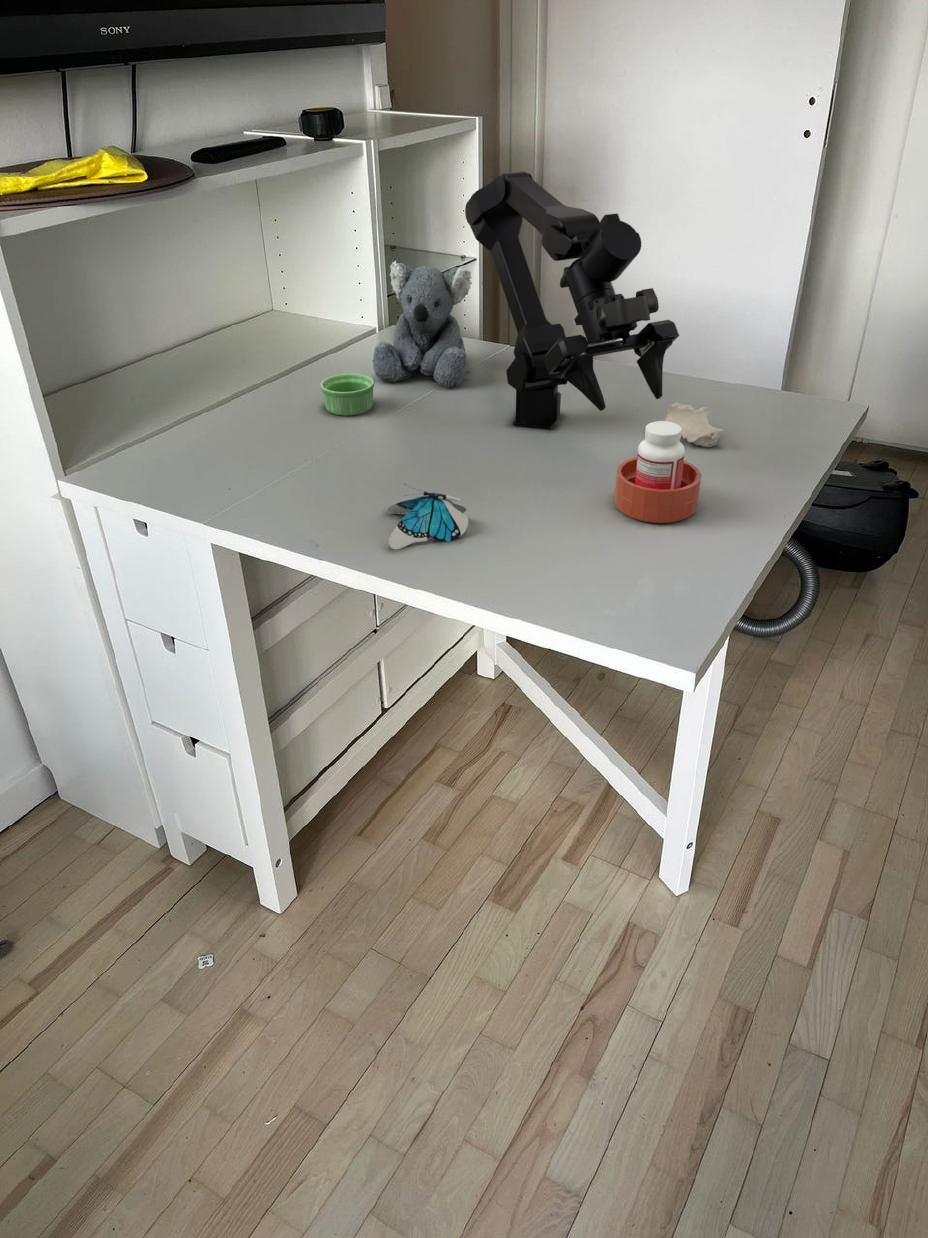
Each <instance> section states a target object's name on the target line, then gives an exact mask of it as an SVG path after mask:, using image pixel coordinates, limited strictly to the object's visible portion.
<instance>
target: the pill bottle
mask: <svg viewBox="0 0 928 1238" xmlns="http://www.w3.org/2000/svg"><path fill="white" fill-rule="evenodd" d="M644 432H645V433H644V434H645V435H644V438H645V439H643V440H642V441H640V443H639V444H638V448H637V454H636V457H637V465H636V475H635V484H636V485H638V486H642V487H646V488H651V489H659V490H664V489H677V488H680V487H681V479H682V470H683V462H684V461H685V453H686V452H685V447H684V444H683V443H682V442H680V441H681V439H682V436H681V432H682V429H681V427H680V426H679V425H678V424H676V423H673V422H668V421H664V420H657V421H653V422H650V423H648V424H647V425H646V426H645V431H644Z"/></svg>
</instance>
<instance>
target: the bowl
mask: <svg viewBox="0 0 928 1238" xmlns="http://www.w3.org/2000/svg"><path fill="white" fill-rule="evenodd" d="M636 465H637V456H635V457H631V458H629V459H626V460H624V461H622V462H621V463H620V464H618V466H617V469H616V473H615V485H614V486H615V487H614V495H613V497H614V498H613V502H614V505H615V507H616V509H618V511H620V512H621V513H622V514H624V515H626V516H627V517H629V518H631V519H634V520H637V521H640V522H644V523H650V524H670V523H675V522H679V521H683V520H685V519H688V518H690V517H691V516H692V515H694V513H696V511H697V508H698V505H699V497H700V491H701V484H702V473H701V470H700V469H699V468H697V467H696V466H695V464H693V463H691V462H688V461H686V460H684V462H683V470H682V479H681V487H680V488H677V489H664V490H659V489H651V488H646V487H642V486H638V485H636V484H635V475H636Z"/></svg>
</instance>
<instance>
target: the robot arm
mask: <svg viewBox="0 0 928 1238" xmlns="http://www.w3.org/2000/svg"><path fill="white" fill-rule="evenodd" d="M464 215H465V220H466V222H467V224H468V225H469V227H470V229H471V232H472V234H473V236H474V238H475V240H476V241H477V242H478V243H479V244H481V245H482V246H483V247H484V248H485V249H487V251H488V252H490V254H491V257H492V260H493V263H494V267H495V270H496V272H497V275H498V278H499V281H500V283H501V287H502V290H503V294H504V296H505V298H506V302H507V304H508V308H509V311H510V313H511V317H512V320H513V323H514V326H515V329H516V332H517V337H516V341H515V344H514V348H513V355H514V359H513V360H512V362H511V363H510V364H509V366H508V368H507V369H506V371H505V373H506V374H505V375H506V380H507V384H508V386H510V387H512V388H513V389H514V390H515V417H514V419H513V420H512V425H513V426H517V427H518V426H519V427H527V428H537V429H547V430H551V429H552V428H553V427H554V425H555V423H556V422H558V420H559V419H560V417H561V402H562V401H561V400H562V393H561V392H560V391H559V386H563V385H567V384H568V383H569V384H570V385H572V386H573V387H575V389H577V390H578V391H579V392H580V393H581V394H582V395H584V397H586V398H587V400H588V401H590V402H591V404H593V405H594V407H596V409H597V410H599V411H600V412H602V411H604V410H606V402H605V399H604V398H605V397H604V395H603V392H602V389H601V387H600V386H601V385H600V384H599V381H598V378H597V376H596V373H595V370H594V357H598V356H603V355H608V354H614V353H620V352H625V351H631V350H633V352H634V354H635V355H636V356H638V357H639V358H638V359H637V360H636V363H637V366H638V368H639V369H640V372H641V373H642V376H643V378H644V379H645V381H646V384H647V386H648V388H649V390H650V392H651V393H652V395H653V397H654V398H655V400H659V399H661V398H662V397H663V374H664V373H663V372H664V371H663V368H664V367H663V366H664V358H665V355H666V351H667V350H668V349H669V348H670V347H671V346H672V345H673V343H674V341H676V340H677V339H678V338H679V337H680V334H679V330H678V327H677V325H676V323H675V322H674V321H672V320H670V319H664V320H658V321H651V314H655V313H657V312H658V311H659V309H660V305H659V300H658V296H657V294H656V291H655V290H654V288H653V287H651V288H644V289H641V290H638V291H636V292H635V296H633V297H628V298H627V297H626V298H625V296H624V295H623V294H622V293H616V291H615V288H614V285H613V283H612V282H614V281H616V280H618V279H619V278H620V276H622V274H623V273H624V272H625V271H626V270H627V268H628V267H629V266H630V265H631V263H633V261H634V260H635V259H636V258H637V256H638V255H639V254H640V252H641V249H642V239H641V235H640V233H639V232H637V230H636V229H635V228H634V227H633V226H632V225H631V224H629V223H627V222H625V221H623V220H621V219H620V216H619V213H609V214H604V215H603V216H602V218H601V219H600V220H599V218H598V216H597V215H596V214H594V213H593V212H590V211H588V210H586V209H584V208H580V207H579V208H578V207H573V206H567V205H566V204H563V203H562V202H561V201H560V200H559V199H557V198H556V196H554V195H552V194H551V193H550V192H549V191H548V190H546V189H545V188H544V187H543V186H541V185H540V184H539V183H538V182H536V181H535V180H534V179H533V176H532V175H531V173H529V172H526V171H524V170H522V171H521V170H520V171H511V172H501V174H499V175H497V176H496V177H495V178H494V180H493V181H492V182H490V183H488V184H486V185H485V186H483V187H480V189H477V190H476V191H474V193H472V195H471V196H470V197H469V199H468V200H467V202H466V203H465V207H464ZM524 220H526V222H528V223H529V225H531V226H532V227H533V228H534V229H536V230H537V231H538V232H539V233H540V235H541V240H540V241H541V242H540V244H541V246H542V248H543V249H544V250H545V252H546V253H547V255H548V256H549V257H550V258H551V259H552V260H553V261H555V262H559V261H567V260H573V262H572V263H571V264H570V265H569V266H565V267H564V268H563V273H562V276H561V278H560V281H559V287H560V288H561V289H565V288H568V290H569V293H570V296H571V298H572V301H573V305H574V307H575V310H576V313H577V315H576V316H575V317H574V323H575V326H581V328H582V330H583V333H584V335H582V334H575V335H570V336H566V333H565V328H564V327H563V325H562V324H561V323H553V324H552V322H550V321H548V319H547V316H546V314H545V311H544V307H543V305H542V302H541V299H540V296H539V293H538V291H537V287H536V284H535V281H534V278H533V276H532V273H531V269H530V267H529V264H528V261H527V259H526V255H525V252H524V249H523V246H522V243H521V240H520V234H521V230H522V226H523V222H524ZM574 259H575V260H574ZM641 321H643V322H645V321H646V322H648V321H651V322H648V323H647V324H645V326H644V327H643V328H642V329H641V330H640V331H639V332H638V333H635V334H630V332H631V331H634V330H636V328H638V327H639V325H638V322H641Z"/></svg>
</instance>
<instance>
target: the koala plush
mask: <svg viewBox="0 0 928 1238" xmlns="http://www.w3.org/2000/svg"><path fill="white" fill-rule="evenodd" d="M389 277H390V280H391V281H390V285H391V287H392V288H391V293H395V295H396V299H397V300H398V301H399V303H400V304H401V307H402V310H403V313H402V314H400V316H399V318H398V320H397V323H396V324H395V328H394V332H393V338H392V339H393V341H392V344H391V343H390V342H388V341H380V342H378V343H376V345H375V346H374V349H373V355H372V356H373V357H372V358H373V359H372V365H373V366H372V367H373V372H374V374H375V376H376V377H377V378H378V379H380V380H381V381H383V382H387V383H388V382H389V383H394V382H401V381H403V380H406V379H408V378H410V377H412V376H414V375H416V374H418V373H419V372H420V373H421V374H422V375H424V376H427V377H431V376H432V377H433V380H434V381H435V382H436V383H437V384H438V385H440V386H443V387H446V388H451V387H452V388H453V387H456V386H458V385H459V384H460V383H462V382H463V380H464V378H465V373H466V370H467V369H468V357H467V352H466V347H465V343H464V339H463V337H462V335H461V329H460V325H459V323H458V320H457V319H456V317H455V316H453V315H452V314H451V312H452V311H453V308H454V306H457V305H458V304H461V302H462V301H463V300H464V299H465V298H466V296H468V295H469V291H470V289H471V285H472V284H473V283H472V281H471V279H473V276H472V271H469V269H467V268H464V267H463V265H460V266H459V267H458V266H456V267H452V268H450V269H449V270H447V271H445V272H442V271H441V270H440V269H438V268H436V267H434V266H429V265H422V266H419V267H416V268H415V269H413V268H412V267H411V266H409V265H406V264H404V263H403V262H398V263H397V260H394V261H392V262H391V264H390V274H389Z"/></svg>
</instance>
